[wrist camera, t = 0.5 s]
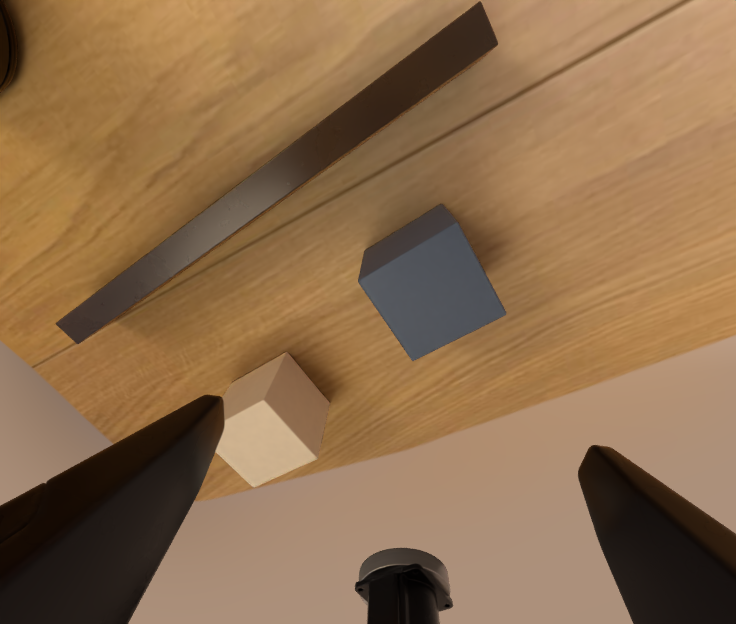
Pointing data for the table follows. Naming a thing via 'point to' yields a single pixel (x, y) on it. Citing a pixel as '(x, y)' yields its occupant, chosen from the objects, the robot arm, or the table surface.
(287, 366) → the cream block
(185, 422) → the robot arm
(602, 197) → the table surface
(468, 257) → the slate block
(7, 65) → the supplement container
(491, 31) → the straightedge
